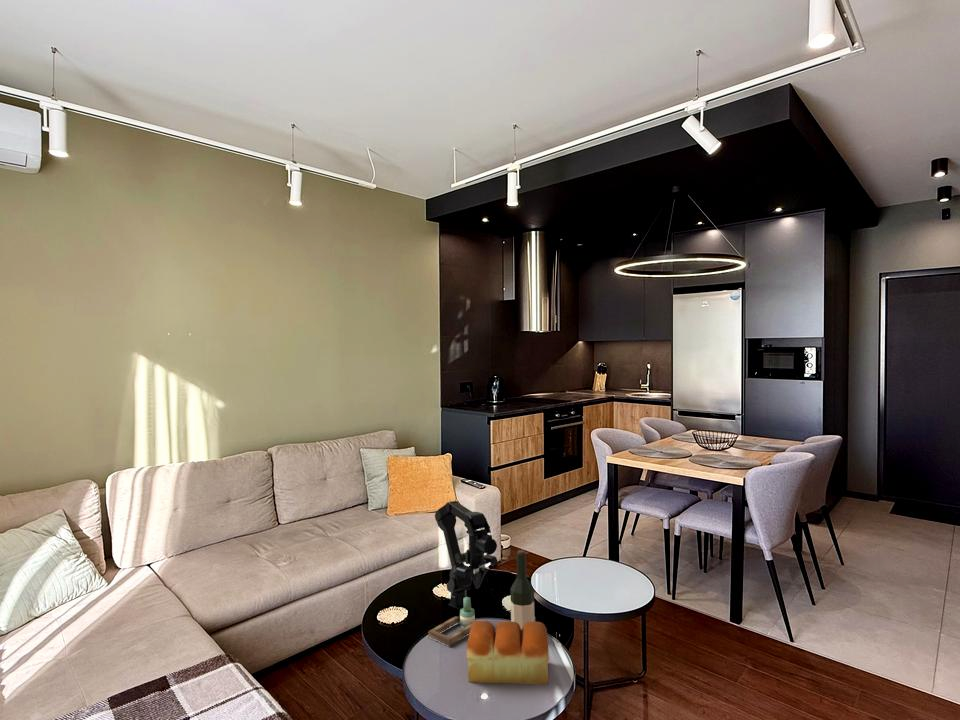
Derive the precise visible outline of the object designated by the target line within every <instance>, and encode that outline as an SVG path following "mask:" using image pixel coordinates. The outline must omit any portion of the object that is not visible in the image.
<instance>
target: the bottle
mask: <svg viewBox="0 0 960 720" xmlns="http://www.w3.org/2000/svg"><path fill="white" fill-rule="evenodd" d="M463 603H464V608H462V609H459V624H460V625H461V626H463V627H466V626H468V625H470V624H471V623H473V622H475V621H476V617H475V615H476V613H475V612H476V611H475V609H474V608H472V602H471V597H469V596H467V597H465V598H463Z"/></svg>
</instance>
